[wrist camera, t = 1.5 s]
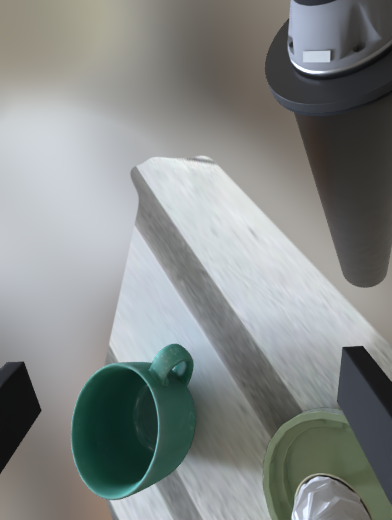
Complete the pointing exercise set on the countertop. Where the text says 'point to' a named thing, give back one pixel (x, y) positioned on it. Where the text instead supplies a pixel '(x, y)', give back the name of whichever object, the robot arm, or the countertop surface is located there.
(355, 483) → the bowl
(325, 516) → the ice cream cone
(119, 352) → the countertop surface
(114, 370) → the mug
